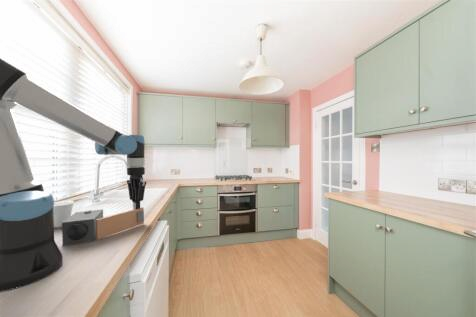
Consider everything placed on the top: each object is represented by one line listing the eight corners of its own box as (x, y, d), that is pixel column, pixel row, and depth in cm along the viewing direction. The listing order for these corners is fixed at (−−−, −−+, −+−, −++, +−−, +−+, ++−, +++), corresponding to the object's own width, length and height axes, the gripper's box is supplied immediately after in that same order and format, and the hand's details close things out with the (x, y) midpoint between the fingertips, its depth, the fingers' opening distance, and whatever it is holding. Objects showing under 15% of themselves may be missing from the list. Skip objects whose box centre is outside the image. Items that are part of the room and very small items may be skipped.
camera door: (98, 240, 75) (98, 220, 75) (96, 239, 76) (95, 219, 76) (144, 223, 92) (144, 207, 92) (142, 223, 93) (142, 207, 93)
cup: (69, 227, 89) (68, 204, 89) (41, 230, 85) (41, 207, 85) (78, 220, 98) (77, 200, 98) (53, 223, 94) (53, 201, 94)
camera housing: (93, 242, 74) (92, 218, 73) (60, 247, 70) (59, 221, 69) (103, 228, 88) (102, 207, 88) (76, 231, 84) (76, 210, 84)
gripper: (151, 166, 90) (151, 214, 91) (135, 165, 97) (136, 210, 98) (136, 167, 84) (136, 219, 84) (120, 166, 90) (121, 214, 91)
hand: (136, 214), depth 91 cm, fingers closed
